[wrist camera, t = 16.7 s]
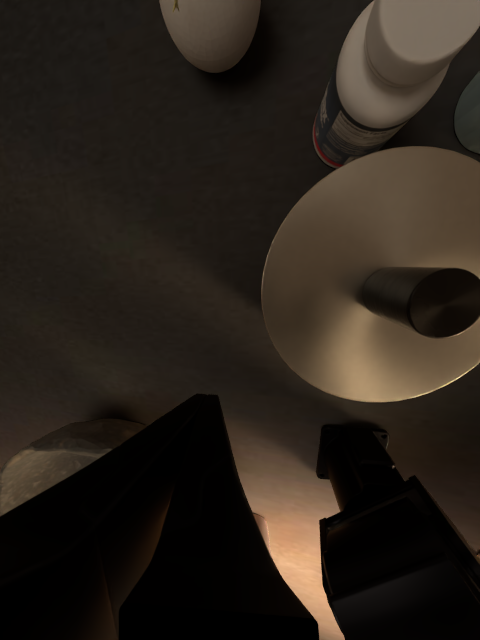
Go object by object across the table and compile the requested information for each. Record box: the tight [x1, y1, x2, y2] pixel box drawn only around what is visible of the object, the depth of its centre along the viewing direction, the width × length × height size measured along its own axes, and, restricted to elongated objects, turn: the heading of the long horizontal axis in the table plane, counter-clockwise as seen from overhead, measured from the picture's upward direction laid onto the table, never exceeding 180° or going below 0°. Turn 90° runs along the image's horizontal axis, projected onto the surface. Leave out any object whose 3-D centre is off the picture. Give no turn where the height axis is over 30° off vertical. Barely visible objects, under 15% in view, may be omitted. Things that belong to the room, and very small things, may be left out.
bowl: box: [0, 418, 147, 516], centre depth 22 cm, size 18×18×8 cm
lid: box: [261, 146, 480, 402], centre depth 9 cm, size 12×12×5 cm
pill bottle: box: [313, 0, 480, 169], centre depth 12 cm, size 5×5×9 cm
